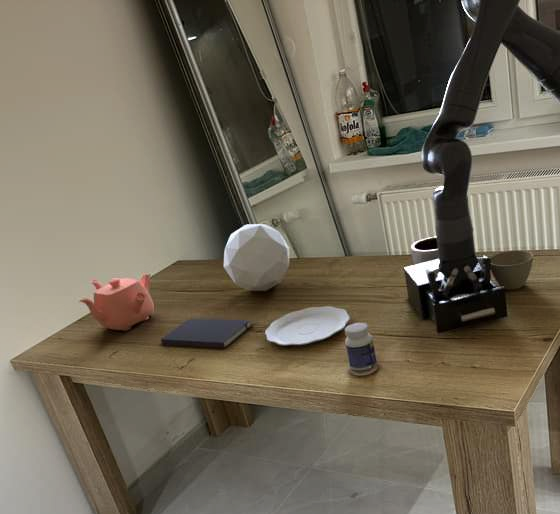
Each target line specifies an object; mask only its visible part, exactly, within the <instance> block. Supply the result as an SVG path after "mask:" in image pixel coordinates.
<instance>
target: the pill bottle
mask: <svg viewBox="0 0 560 514" xmlns="http://www.w3.org/2000/svg"><path fill="white" fill-rule="evenodd" d="M344 333H345V336H346V338H345V339H344V340H345V341H344V344H345V349H346V354H347V359H348V365H349V369H350V372H351V374H353V375H355V376H358V377H359V376H368V375H371V374H373V373H374V372H375V371H377V369H378V359H377V356H376V350H375V344H374V339H373V336H372V334H371V333H369V326H368V324H367V323H365V322H354V323H352V324H349V325H347V326H345V327H344Z"/></svg>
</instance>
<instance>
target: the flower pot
mask: <svg viewBox="0 0 560 514" xmlns="http://www.w3.org/2000/svg"><path fill="white" fill-rule="evenodd" d="M489 258H490V259H491V272H490V273H491V274H492V276H493V278H494V280H495V281H496V283H497V284H498V286H499V287H502V286H503V287H505V290H506V291H507V290H508V291H513V290H518V289H520V288H523V286H525V284H526V281H527V280H528V279H529V277H530V274H531V270H532V266H533V261H534V254H533V253H532V252H530V251H527V250H522V249H518V250H517V249H512V250H506V251H502V252H501V251H500V252H498V253H495V254H493V255H492V256H490V257H489Z"/></svg>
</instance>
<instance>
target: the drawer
mask: <svg viewBox="0 0 560 514" xmlns="http://www.w3.org/2000/svg"><path fill="white" fill-rule="evenodd" d="M475 276H476V277H477V278H478V280H479V279H481V274H477V275H475ZM441 285H442V283H440V284H437V286H438V289H440V288H441ZM473 287H474V284H473V283H472V281H471V280H470V279H469V278H468V279H466V280H460V281H458V282H453V285H452V287H451V288H450V291H449V293H448V296H449V300H445V301H441V296H438V297H436V296H434V294H433V293H432V292H431V289H430V286H428V287H424V288H422V289H423V296H424V303H425V310H426V312H427V313H428V315H429V316H430V317H431V318H430V320H432V321H433V323H434V325H435V328H436V330H435V331H436V333H437V334H442V333H446V332H451V331H454V330H459V329H463V328H466V327H467V328H468V327H472V326H475V325H479V324H484V323H487V322H491V321H492V322H493V321H496V320H501V319H504V318H508V316H509V315H508V306H507V294H506V293H507V292H506V289H505V287H503V286H502V287H501V286H499V285H497V284H496V283H495V281H493V280H492V278H491V279H490V283H489V284H486V285H484V286H483V287H482V291H481V292H477V293H474V291H473ZM460 294H469V295H465V296H461V297H457V298H453V299H450V298H451V297H453V296H456V295H460Z"/></svg>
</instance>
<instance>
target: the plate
mask: <svg viewBox="0 0 560 514" xmlns="http://www.w3.org/2000/svg"><path fill="white" fill-rule="evenodd" d="M350 318H351V316H350V315H349V314H348V313H347V310H346V309H343V308H339V307H335V306H330V305H326V306H312V307H306V308H303V309H299V310H296V311H292V312H289V313H287V314H285V315H283V316H281V317H279V318H278V319H275V320H274V321H273V322H271V323H270V325H269V326H268V327H267V328H266V329H265V331H264V335H266V340H267V341H268V342H269V343H274V344H276V345H278V346H303V345H309V344H313V343H314V344H315V343H317V342H321V341H324V340H326V339H328V338H330V337H332V336H334V335H335V334H336V333H338V332H340V331H343V330H344V329H345V328H346V327H347V326H346V325H347V323H348V322H349V321H350Z"/></svg>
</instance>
